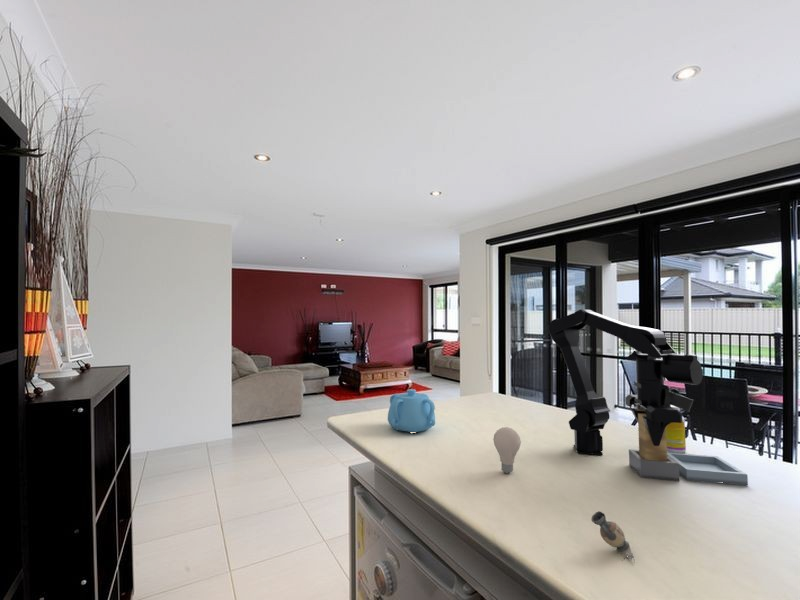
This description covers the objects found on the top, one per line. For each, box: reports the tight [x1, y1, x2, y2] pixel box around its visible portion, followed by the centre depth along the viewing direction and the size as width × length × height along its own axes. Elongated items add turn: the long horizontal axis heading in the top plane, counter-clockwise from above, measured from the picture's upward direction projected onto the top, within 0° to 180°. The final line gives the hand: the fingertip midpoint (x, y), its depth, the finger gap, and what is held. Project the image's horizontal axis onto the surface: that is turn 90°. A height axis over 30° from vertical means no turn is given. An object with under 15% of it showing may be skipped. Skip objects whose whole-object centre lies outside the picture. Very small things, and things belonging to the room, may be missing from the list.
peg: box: [637, 413, 667, 461], centre depth 93 cm, size 4×4×11 cm
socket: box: [628, 449, 680, 482], centre depth 93 cm, size 8×8×4 cm
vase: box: [591, 511, 635, 564], centre depth 61 cm, size 5×5×6 cm
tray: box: [667, 452, 749, 486], centre depth 93 cm, size 12×12×2 cm
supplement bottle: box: [666, 405, 687, 454], centre depth 110 cm, size 7×7×13 cm
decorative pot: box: [387, 388, 436, 433], centre depth 131 cm, size 16×16×14 cm
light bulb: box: [492, 426, 522, 474], centre depth 93 cm, size 7×7×11 cm
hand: (652, 442), depth 93 cm, fingers closed on peg, 4 cm apart
